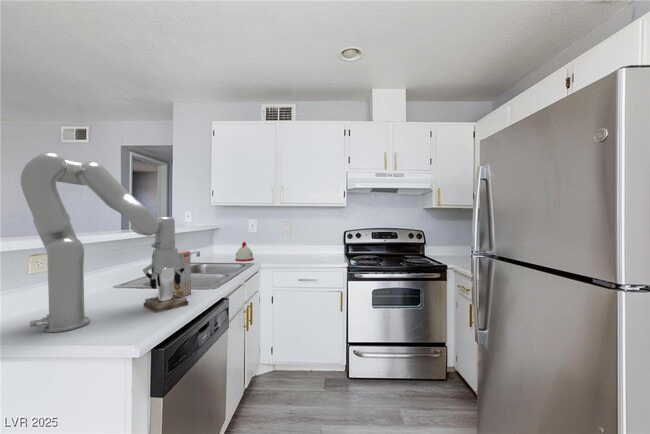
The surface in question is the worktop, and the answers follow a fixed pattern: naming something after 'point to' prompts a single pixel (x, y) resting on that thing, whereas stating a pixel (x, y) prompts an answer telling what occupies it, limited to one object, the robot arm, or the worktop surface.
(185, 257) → the cracker box
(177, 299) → the brown square tray
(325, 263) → the worktop surface
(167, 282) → the beer glass
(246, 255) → the cream dome with knob
